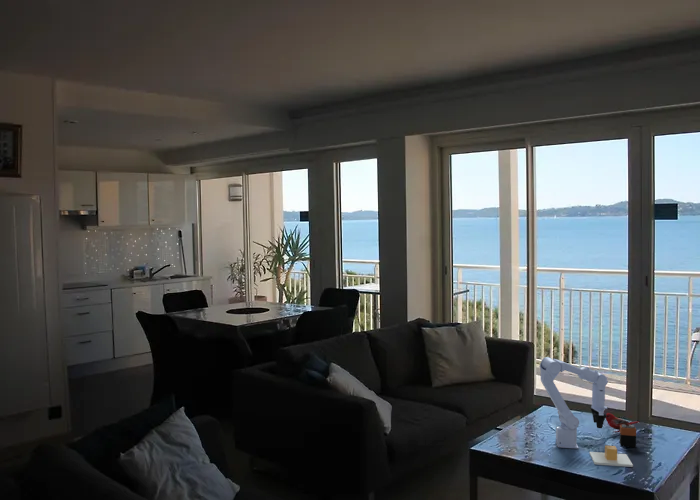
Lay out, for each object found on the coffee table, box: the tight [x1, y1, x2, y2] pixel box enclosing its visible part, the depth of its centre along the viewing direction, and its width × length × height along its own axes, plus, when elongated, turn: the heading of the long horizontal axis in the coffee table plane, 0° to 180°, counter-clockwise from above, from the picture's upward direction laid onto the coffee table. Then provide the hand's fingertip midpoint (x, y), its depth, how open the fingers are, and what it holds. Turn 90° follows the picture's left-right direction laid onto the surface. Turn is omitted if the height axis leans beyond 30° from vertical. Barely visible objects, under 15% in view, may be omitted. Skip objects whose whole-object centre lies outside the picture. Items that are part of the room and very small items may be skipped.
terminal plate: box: [589, 451, 634, 468], centre depth 282 cm, size 16×12×4 cm
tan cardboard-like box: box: [604, 444, 618, 460], centre depth 281 cm, size 4×4×5 cm
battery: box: [619, 424, 637, 448], centre depth 299 cm, size 4×7×10 cm, turn 75°
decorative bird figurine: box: [605, 412, 640, 433], centre depth 315 cm, size 3×18×10 cm, turn 82°
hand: (597, 425), depth 300 cm, fingers open, 7 cm apart
